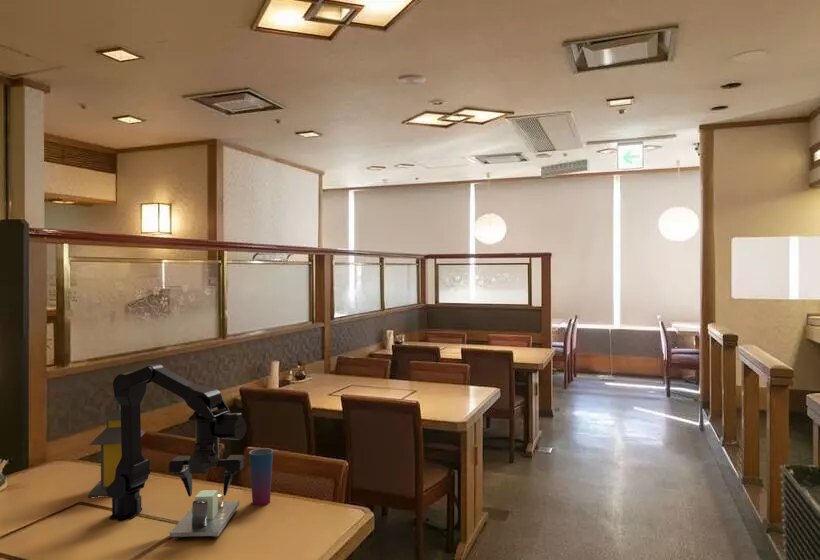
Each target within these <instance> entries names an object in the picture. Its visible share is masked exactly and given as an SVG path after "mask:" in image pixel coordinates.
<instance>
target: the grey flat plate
mask: <svg viewBox="0 0 820 560" xmlns="http://www.w3.org/2000/svg"><path fill="white" fill-rule="evenodd" d="M240 504H241V502H240V500H232V501H231V500H229V501H228V500H227V501H224V500H223V506H222V507H220V508H218V513H217V514H216V516H215V517H214V518H213V519H207V525H206V526H205V527H203V528H193V527H192V507H191V508H190V509H189V511H187V513H186V514H185V515H184V516H183V517H182V518H181V519H180V521H179V522H177V524H176V525H175V526H174V527H173V528H172V529H171V531H170V532H169V537H170V538H171V537H172V538H175V540H182V538H183V537H211V539H217V538H218V537H219V535H221V533H222V531H223V530H224V529H225V527H226V526H227V524H228V522H229V521H230V520H231V518H232V516H233V515H234V514H235V512H236V511H237V509H238V508H239V507H240Z"/></svg>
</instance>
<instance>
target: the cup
mask: <svg viewBox="0 0 820 560" xmlns="http://www.w3.org/2000/svg"><path fill="white" fill-rule="evenodd" d="M248 455H249V457H248V458H249V470H250V484H251V487H250V488H251V498H252V501H251V503H252V505H254V506H256V507H257V506H258V507H261V506H266V505H268V504H270V503H271V495H272V494H271V493H272V491H271V490H272V476H273V475H272V473H273V461H274V460H273V457H274V450H273V449H272V448H268V447H262V448H254V449H252V450H250V451H249V452H248Z"/></svg>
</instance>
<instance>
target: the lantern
mask: <svg viewBox="0 0 820 560" xmlns="http://www.w3.org/2000/svg"><path fill="white" fill-rule="evenodd" d="M112 396H113V399H112V400H113V401H114V402H115V403H116V404H115V406H116V407H115V408H114V410H112V412H110V413H109V415H108V416H107V417H106V418H105V419H104V420H103V422H106V428H104V429H103V430H102V432H101V433H100V434H98V436H96V437H95V438H94V439H93V440H92V441H91V442H90V443H89V446H100V480H99V481H98V482H97V483H96V484H95V485H94V486H93V488H92V489H91V490H90V491H89V492H88V493H87V497H88V496H89V497H98V496H107V492H106V489H107V488H108V486H109V485H110V484H111V483H112V482H113V481H114V480H115V472H116V467H117V465H118V463H119V461H120V459H121V456H122V453H121V406H120V404H119V402H118V401H117V400H116V398H115V396H114V395H112ZM145 434H146V431H144V430H143V429H141V438H142V437H143V436H144V435H145ZM139 490H140V491H141V489H139Z"/></svg>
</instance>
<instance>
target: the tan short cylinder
mask: <svg viewBox="0 0 820 560" xmlns="http://www.w3.org/2000/svg"><path fill="white" fill-rule="evenodd" d="M223 501H224V492H220V491H218V508H220V507H222V506H223Z"/></svg>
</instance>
